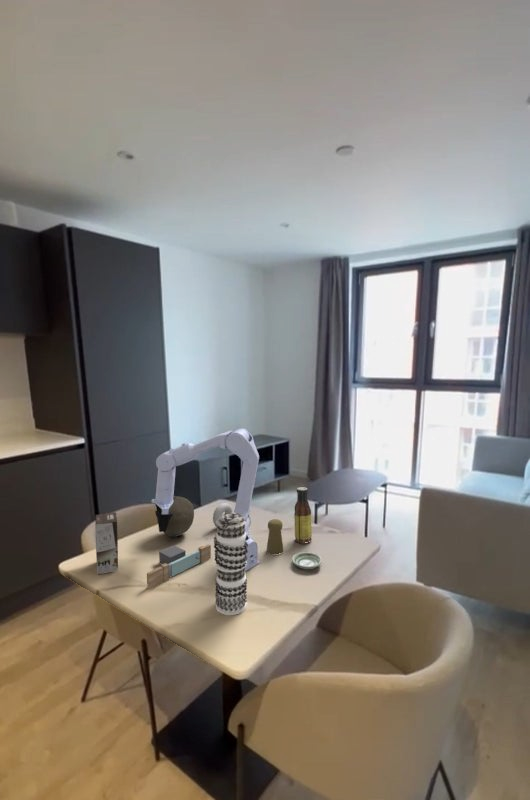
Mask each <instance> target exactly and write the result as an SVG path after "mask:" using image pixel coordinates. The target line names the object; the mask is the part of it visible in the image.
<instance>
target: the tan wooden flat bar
mask: <svg viewBox="0 0 530 800" xmlns="http://www.w3.org/2000/svg"><path fill="white" fill-rule="evenodd" d="M197 547H198V546H197ZM211 548H212V545H211V544H210V543H208V544H205V545H204V546H203V545H200V546H199V547H198V548H197V549H198V550H199V551H200V563H201V564H203V563H205V562H206V561H207V560H209V559H211V558H212V553H211V552H212V551H211ZM169 579H170V578H169V568H168V564H166V563H164V564H160V566H159V567H157V568H155V569H152V570H150V571H148V572H146V589H148V590H151V589H153V588H156V587H157V586H158V585H159V586H160V585H161V584H162V583H165V582H167V581H168V582H169Z"/></svg>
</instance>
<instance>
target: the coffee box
mask: <svg viewBox="0 0 530 800" xmlns="http://www.w3.org/2000/svg"><path fill="white" fill-rule="evenodd" d="M94 525H95V526H94V527H95V528H94V529H95V553H96V574H97V575H100V574H99V573H102V574H106V572H108V573H115V572H118V571H119V543H118V541H119V540H118V536H119V535H118V517H117V512H116V511H114V512H105V513H101V514H95V524H94Z"/></svg>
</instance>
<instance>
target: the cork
mask: <svg viewBox="0 0 530 800" xmlns="http://www.w3.org/2000/svg"><path fill="white" fill-rule="evenodd" d="M283 527H284V525H283V522H282V521H281V520H279V519H275V518H274V519H270V520H269V521H268V523H267V529H268V537H267V543H266V550H267V551H266V553H267V552H268V553H270V554H269V555H271V554H279V553H282V552H283V553H284V545H283V544H284V543H283V535H282V529H283ZM268 553H267V554H268ZM283 553H282V554H283Z"/></svg>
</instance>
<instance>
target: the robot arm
mask: <svg viewBox="0 0 530 800" xmlns="http://www.w3.org/2000/svg"><path fill="white" fill-rule="evenodd" d="M216 448H221V449H223V450H226V449H227V450H228V451H230V452H231V453H233V454H235V455H236V456H238V458H239V459H240V460H241V461H242V462H243V464H242V468H241V472H240V473H241V474H240V478H239V479H240V480H239V482H238V483H239V484H238V489H237V495H236V499H235V500H236V501H235V506H234V511H233V513H238V514H240V515H242V517H243V518H244V519H246V521H247V522H246V524H245V531H246V535H248V538H249V539H248V540H246V538H245V542H247V543H248V547H247V549H248V552H247V553H246V554H245V555H247V560H246V562H247V565H246V567H245V572H247V571H248V570H250V569H252V568H253V567H255V566H257V565H258V564H260V561H259V559H258V555H259V553H258V543H257V542H256V541H255V540H253V539H252V537H251V533H250V531H249V528H250V526H251V523H252V520H251V504H252V499H253V493H254V488H255V483H256V478H257V471H258V466H259V460H260V455H259V452H258V450H257V447H256V444H255V441H254V436H253V435H252V434H251V433H250V432H249V431H248V430H247V429H245V428H236V429H234V430H233V429H232V430H228V431H226V432H223V433H219V434H217V435H214V436H213V437H209V438H208V439H206V440H203V441H201V442H198V443H196V444H194V443H191V442H183V443H181V445H180V446H179V447H178V446H177V447H176V448H173V447H172V448H170V449H169V450H167V451H165V452H163V453H161V454H160V455H158V457H157V458H156V459H155V465H156V468H157V477H156V479H157V480H156V489H155V490H156V492H155V498H153V499H151V504H154V506H155V508H156V510H155V511H154V512H155V516H156V520H157V519H158V521H157V525H158V532H159V533H164V532H166V530H167V527H168V523H169V521H170V519H171V517H172V516H173V511H169V508H170V506H171V505H172V504H173V497H174V493H175V492H174V491H175V484H176V483H175V482H176V480H175V479H176V467H178V466H181V465H184V464H187V463H189V462H191V461H194V460H196V459H197V457H198V455H200V454H202V453H204V452H207V451H210V450H213V449H216Z"/></svg>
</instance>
